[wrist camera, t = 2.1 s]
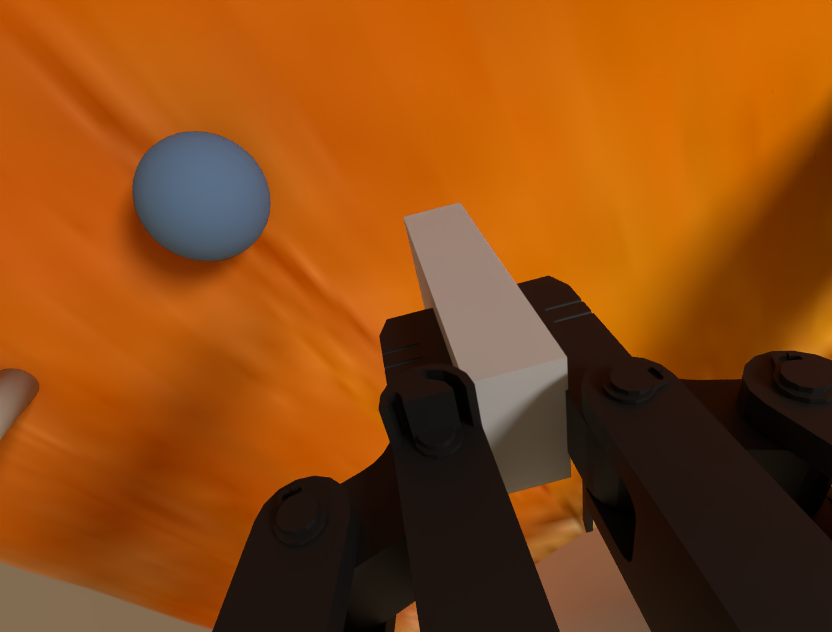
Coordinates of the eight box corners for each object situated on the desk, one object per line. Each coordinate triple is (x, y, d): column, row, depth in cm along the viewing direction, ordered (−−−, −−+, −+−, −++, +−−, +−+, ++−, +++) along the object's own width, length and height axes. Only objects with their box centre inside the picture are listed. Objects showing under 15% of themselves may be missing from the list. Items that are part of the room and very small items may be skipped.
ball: (250, 106, 24) (228, 132, 19) (291, 218, 27) (282, 264, 22) (132, 136, 24) (79, 169, 19) (188, 244, 27) (156, 296, 22)
